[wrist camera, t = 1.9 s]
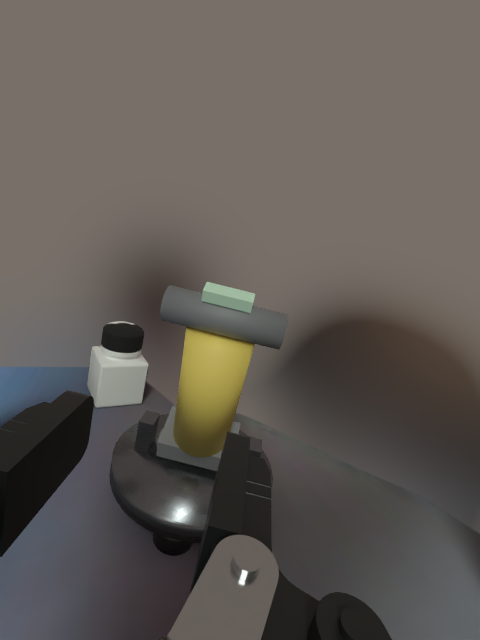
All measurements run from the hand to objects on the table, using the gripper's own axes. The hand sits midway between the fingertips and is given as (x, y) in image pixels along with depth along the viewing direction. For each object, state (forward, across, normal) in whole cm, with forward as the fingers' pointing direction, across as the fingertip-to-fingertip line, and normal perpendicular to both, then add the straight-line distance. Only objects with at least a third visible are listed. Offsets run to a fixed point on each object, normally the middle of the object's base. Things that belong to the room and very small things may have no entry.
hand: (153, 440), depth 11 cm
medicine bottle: (+41, +16, +24) cm, 50 cm away
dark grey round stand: (+25, 0, +24) cm, 35 cm away
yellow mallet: (+25, 0, +18) cm, 31 cm away
